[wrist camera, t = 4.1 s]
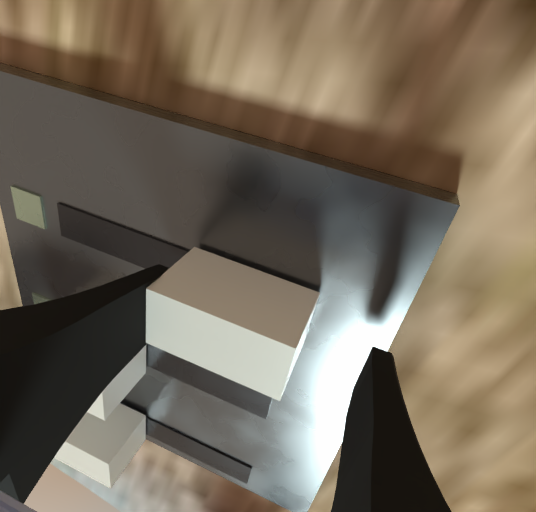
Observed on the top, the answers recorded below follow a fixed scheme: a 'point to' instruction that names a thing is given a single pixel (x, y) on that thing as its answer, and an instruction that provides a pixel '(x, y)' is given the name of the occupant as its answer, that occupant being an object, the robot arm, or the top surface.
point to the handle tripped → (230, 319)
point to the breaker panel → (222, 244)
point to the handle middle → (119, 386)
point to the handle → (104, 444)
